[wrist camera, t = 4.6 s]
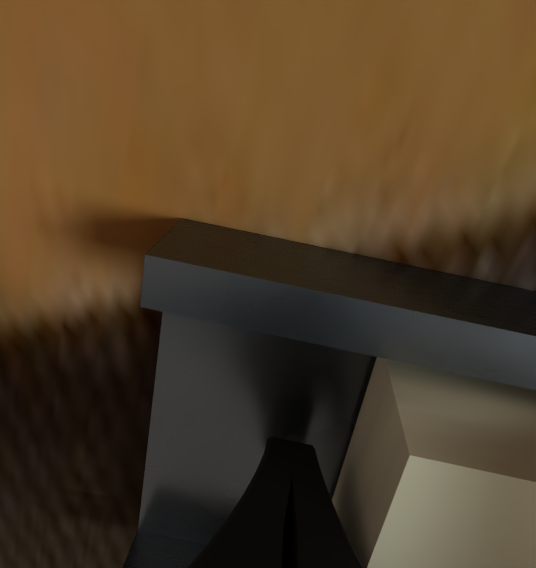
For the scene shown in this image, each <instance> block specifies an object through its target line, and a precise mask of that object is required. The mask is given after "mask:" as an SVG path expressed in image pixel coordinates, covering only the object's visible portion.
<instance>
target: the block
mask: <svg viewBox="0 0 536 568" xmlns="http://www.w3.org/2000/svg"><path fill="white" fill-rule="evenodd" d="M332 502H333V505H334V507H335V510H336V512H337V515H338V517H339V519H340V522H341V524H342V526H343V528H344V530H345V532H346V535H347V537H348V539H349V541H350V543H351V545H352V547H353V549H354V551H355V553H356V555H357V557H358V559H359V561H360V562H361V564H362V566H363V568H536V390H532V389H527V388H522V387H518V386H513V385H508V384H503V383H499V382H494V381H489V380H484V379H480V378H475V377H470V376H465V375H461V374H456V373H451V372H446V371H442V370H437V369H432V368H427V367H423V366H418V365H413V364H408V363H404V362H399V361H394V360H389V359H385V358H380V357H377V358H376V362H375V365H374V368H373V371H372V374H371V377H370V381H369V384H368V387H367V390H366V393H365V396H364V400H363V403H362V406H361V409H360V412H359V415H358V419H357V422H356V425H355V428H354V431H353V435H352V438H351V441H350V444H349V447H348V450H347V454H346V457H345V460H344V463H343V466H342V469H341V473H340V476H339V479H338V482H337V485H336V488H335V492H334V495H333V498H332Z"/></svg>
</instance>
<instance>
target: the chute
mask: <svg viewBox="0 0 536 568" xmlns="http://www.w3.org/2000/svg"><path fill="white" fill-rule="evenodd" d="M140 307H143V308H148V309H152V310H157V311H162V312H163V314H162V322H161V331H160V340H159V349H158V358H157V367H156V376H155V384H154V393H153V402H152V411H151V420H150V429H149V437H148V446H147V455H146V464H145V473H144V482H143V490H142V499H141V508H140V517H139V526H138V531H137V534H136V536H135V539H134V541H133V543H132V546H131V548H130V551H129V553H128V556H127V558H126V561H125V563H124V565H123V568H187V567H188V566H189V565H190V564H191V563H192V562H193V561H194V560H195V559H196V557H197V556H198V555H199V554H200V553H201V552H202V550H203V549H204V548H205V547H206V546H207V545H208V543H209V542H210V541H211V540H212V538H213V537H214V536H215V534H216V533H217V532H218V531H219V529H220V528H221V527H222V525H223V524H224V522H225V521H226V520H227V518H228V517H229V515H230V514H231V512H232V511H233V509H234V508H235V506H236V505H237V503H238V502H239V500H240V499H241V497H242V495H243V494H244V492H245V490H246V489H247V487H248V485H249V483H250V481H251V479H252V478H253V476H254V474H255V472H256V470H257V468H258V466H259V463H260V461H261V459H262V456H263V454H264V450H265V446H266V442H267V439H268V438H270V437H276V438H281V439H285V440H290V441H295V442H299V443H304V444H309V445H313V447H314V448H315V450H316V454H317V458H318V462H319V465H320V469H321V472H322V475H323V478H324V481H325V484H326V487H327V489H328V492H329V495H330V497H331V500H332V498H333V495H334V492H335V488H336V485H337V482H338V479H339V476H340V473H341V469H342V466H343V463H344V460H345V457H346V454H347V450H348V447H349V444H350V441H351V438H352V435H353V431H354V428H355V425H356V422H357V419H358V415H359V412H360V409H361V406H362V403H363V400H364V396H365V393H366V390H367V387H368V384H369V381H370V377H371V374H372V371H373V368H374V365H375V362H376V358H377V357H380V358H385V359H389V360H394V361H399V362H404V363H408V364H413V365H418V366H423V367H427V368H432V369H437V370H442V371H446V372H451V373H456V374H461V375H465V376H470V377H475V378H480V379H484V380H489V381H494V382H499V383H503V384H508V385H513V386H518V387H522V388H527V389H532V390H536V292H534V291H530V290H525V289H520V288H515V287H510V286H505V285H501V284H496V283H491V282H486V281H481V280H476V279H472V278H467V277H462V276H457V275H452V274H448V273H443V272H438V271H433V270H428V269H423V268H419V267H414V266H409V265H404V264H399V263H394V262H390V261H385V260H380V259H375V258H370V257H365V256H361V255H356V254H351V253H346V252H341V251H336V250H332V249H327V248H322V247H317V246H312V245H308V244H303V243H298V242H293V241H288V240H283V239H279V238H274V237H269V236H264V235H259V234H254V233H250V232H245V231H240V230H235V229H230V228H225V227H221V226H216V225H211V224H206V223H201V222H197V221H192V220H187V219H182V220H181V221H180V222H179V223H178V224H177V225H175V226H174V227H173V228H172V229H171V230H170V231H169V232H168V233H167V234H166V235H165V236H164V237H163V238H162V239H161V240H160V241H159V242H158V243H157V244H156V245H155V246H153V247H152V248H151V249H150V250H149V251H148V252H147V253H146V254H145V260H144V270H143V281H142V292H141V303H140Z"/></svg>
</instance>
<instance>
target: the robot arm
mask: <svg viewBox="0 0 536 568" xmlns="http://www.w3.org/2000/svg"><path fill="white" fill-rule="evenodd" d="M187 568H363V566H362V564H361V562H360V561H359V559H358V557H357V555H356V553H355V551H354V549H353V547H352V545H351V543H350V541H349V539H348V537H347V535H346V532H345V530H344V528H343V526H342V524H341V522H340V519H339V517H338V515H337V512H336V510H335V507H334V505H333V502H332V500H331V497H330V495H329V492H328V489H327V487H326V484H325V481H324V478H323V475H322V472H321V469H320V465H319V462H318V458H317V454H316V450H315V448H314V447H313V445H309V444H304V443H299V442H295V441H290V440H285V439H281V438H276V437H270V438H268V439H267V442H266V446H265V450H264V454H263V456H262V459H261V461H260V463H259V466H258V468H257V470H256V472H255V474H254V476H253V478H252V479H251V481H250V483H249V485H248V487H247V489H246V490H245V492H244V494H243V495H242V497H241V499H240V500H239V502H238V503H237V505H236V506H235V508H234V509H233V511H232V512H231V514H230V515H229V517H228V518H227V520H226V521H225V522H224V524H223V525H222V527H221V528H220V529H219V531H218V532H217V533H216V534H215V536H214V537H213V538H212V540H211V541H210V542H209V543H208V545H207V546H206V547H205V548H204V549H203V550H202V552H201V553H200V554H199V555H198V556H197V557H196V559H195V560H194V561H193V562H192V563H191V564H190V565H189V566H188V567H187Z"/></svg>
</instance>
